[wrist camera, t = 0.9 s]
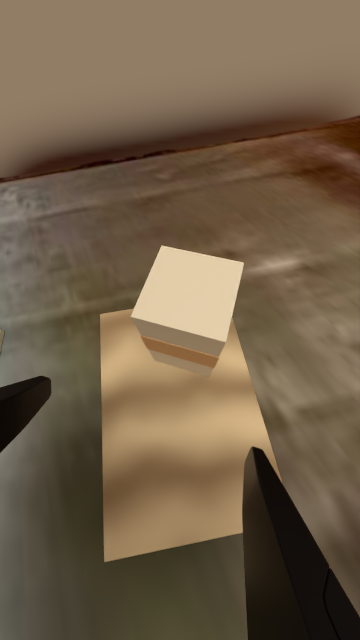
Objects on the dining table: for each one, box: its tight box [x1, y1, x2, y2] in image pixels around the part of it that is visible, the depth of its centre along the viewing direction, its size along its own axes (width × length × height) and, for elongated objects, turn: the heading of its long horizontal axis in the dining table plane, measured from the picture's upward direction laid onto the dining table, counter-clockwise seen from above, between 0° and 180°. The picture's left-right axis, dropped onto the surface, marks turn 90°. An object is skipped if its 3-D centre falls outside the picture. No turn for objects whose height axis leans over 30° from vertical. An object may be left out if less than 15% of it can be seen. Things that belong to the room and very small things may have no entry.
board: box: [100, 309, 283, 562], centre depth 21 cm, size 20×14×2 cm
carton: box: [131, 246, 244, 377], centre depth 18 cm, size 6×6×10 cm
